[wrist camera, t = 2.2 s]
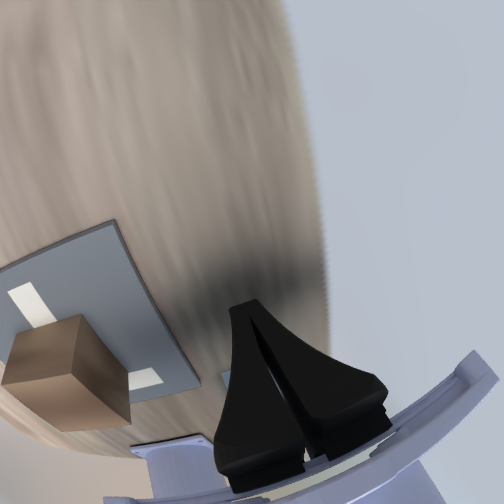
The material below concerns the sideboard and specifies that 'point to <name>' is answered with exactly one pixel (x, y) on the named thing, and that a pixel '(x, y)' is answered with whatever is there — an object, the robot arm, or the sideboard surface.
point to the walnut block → (68, 377)
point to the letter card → (96, 307)
